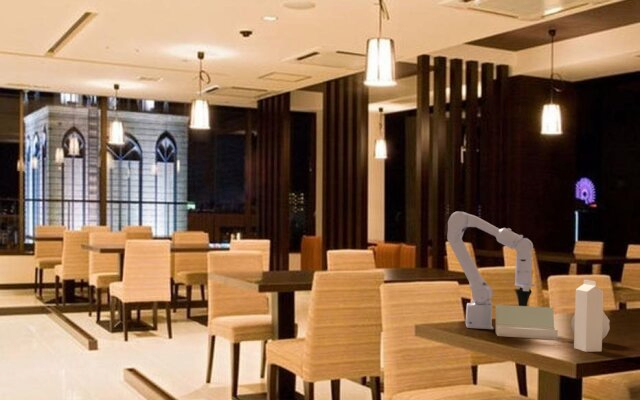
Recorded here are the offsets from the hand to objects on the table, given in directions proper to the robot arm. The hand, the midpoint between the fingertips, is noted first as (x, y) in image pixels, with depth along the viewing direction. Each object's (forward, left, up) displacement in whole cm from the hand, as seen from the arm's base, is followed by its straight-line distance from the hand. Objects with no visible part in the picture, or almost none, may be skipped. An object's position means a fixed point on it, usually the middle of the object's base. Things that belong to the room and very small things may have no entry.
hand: (522, 309), depth 263 cm
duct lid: (0, -6, -2) cm, 6 cm away
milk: (+16, -31, -8) cm, 36 cm away
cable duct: (0, -10, -8) cm, 13 cm away
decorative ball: (+20, -16, -8) cm, 27 cm away
